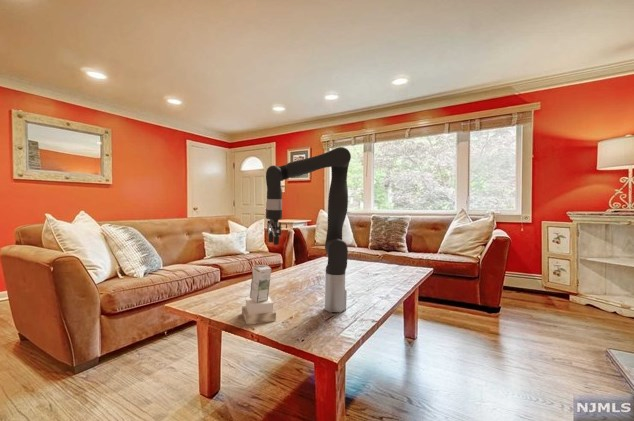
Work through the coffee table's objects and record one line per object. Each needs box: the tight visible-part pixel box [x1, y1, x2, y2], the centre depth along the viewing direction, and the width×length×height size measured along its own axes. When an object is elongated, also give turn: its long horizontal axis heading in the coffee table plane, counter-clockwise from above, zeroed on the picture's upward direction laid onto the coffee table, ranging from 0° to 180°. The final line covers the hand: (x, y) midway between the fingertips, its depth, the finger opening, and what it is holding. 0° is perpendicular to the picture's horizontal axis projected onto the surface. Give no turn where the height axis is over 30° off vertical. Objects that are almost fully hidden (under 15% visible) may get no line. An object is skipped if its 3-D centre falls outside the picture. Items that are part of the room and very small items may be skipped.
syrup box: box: [249, 264, 272, 303], centre depth 120 cm, size 6×6×14 cm
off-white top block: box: [245, 294, 274, 315], centre depth 121 cm, size 10×10×4 cm
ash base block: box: [241, 305, 277, 326], centre depth 121 cm, size 12×12×4 cm
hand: (273, 243), depth 133 cm, fingers open, 8 cm apart
